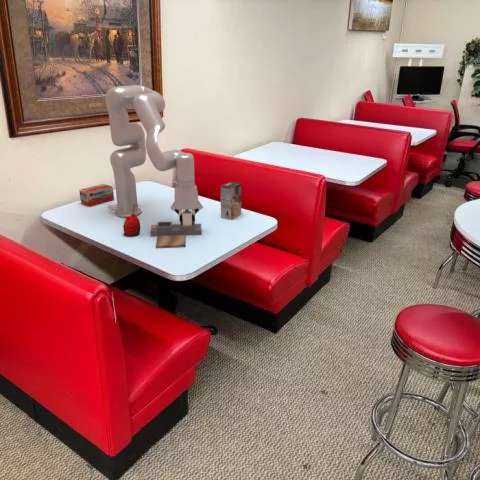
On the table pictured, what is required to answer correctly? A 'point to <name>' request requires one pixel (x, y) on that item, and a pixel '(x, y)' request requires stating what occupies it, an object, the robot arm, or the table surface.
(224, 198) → the coffee box
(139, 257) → the table surface
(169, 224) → the power strip
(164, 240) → the walnut mat
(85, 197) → the medicine box
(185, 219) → the plug
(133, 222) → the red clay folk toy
